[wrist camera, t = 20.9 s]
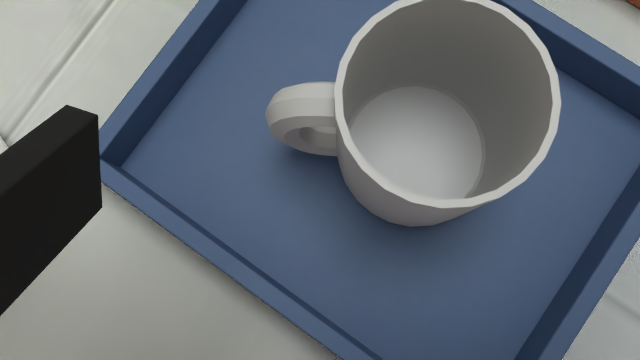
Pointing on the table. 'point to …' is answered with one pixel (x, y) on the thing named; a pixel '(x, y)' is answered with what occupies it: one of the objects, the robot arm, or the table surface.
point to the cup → (429, 109)
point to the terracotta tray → (635, 2)
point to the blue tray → (353, 218)
